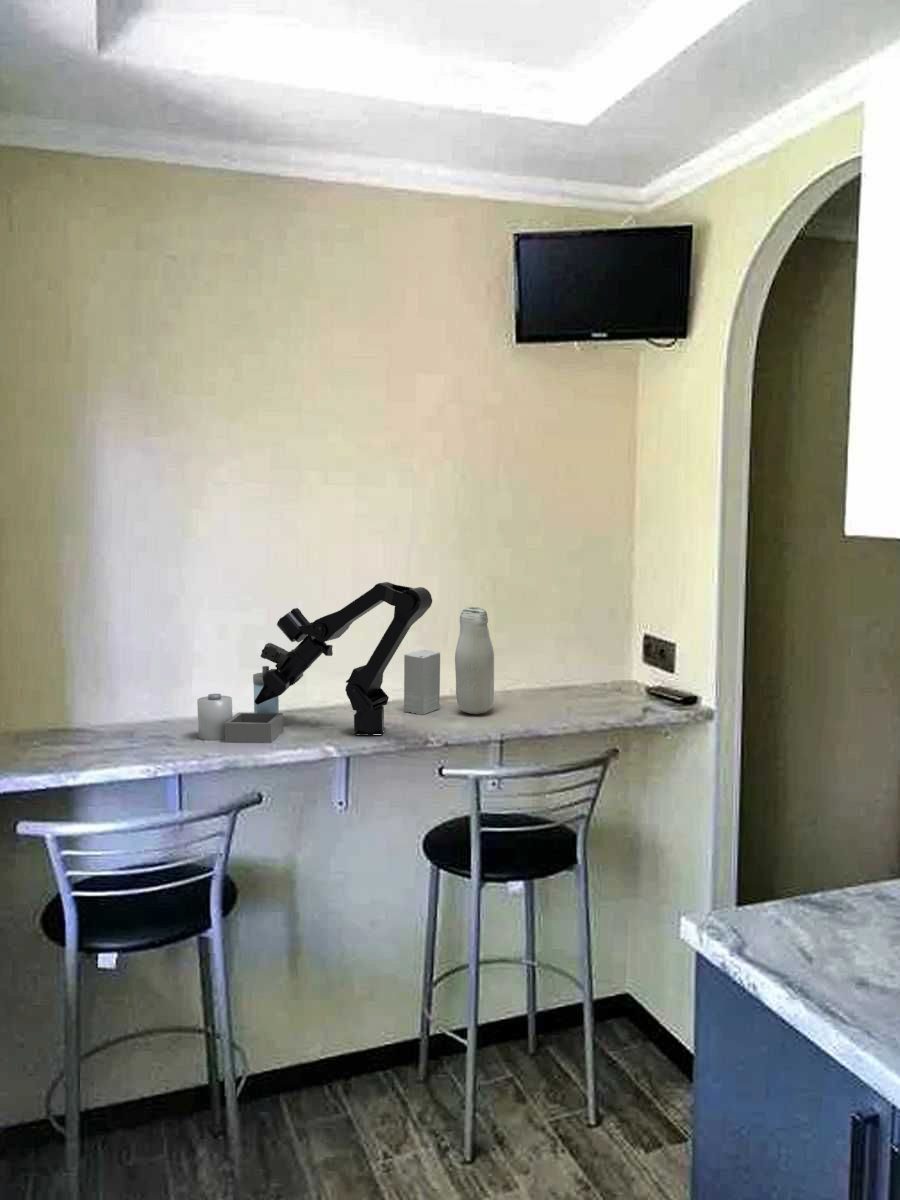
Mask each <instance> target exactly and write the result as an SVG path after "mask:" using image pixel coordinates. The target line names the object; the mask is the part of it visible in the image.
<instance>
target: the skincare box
mask: <svg viewBox="0 0 900 1200" xmlns="http://www.w3.org/2000/svg"><path fill="white" fill-rule="evenodd" d="M403 659H404V660H403V663H404V664H403V666H404V667H403V668H404V672H403V673H404V674H403V675H404V677H403V679H404V680H403V681H404V682H403V686H404V687H403V691H404V692H403V702H404V703H403V712H404V711H405V712H404V713H409V712H411V713H410V714H414V713H416V714H415V715H420V714H424V715H426V714H428V713H432V712H434V711H436V710H440V698H441V696H440V695H441V693H440V692H441V691H440V690H441V687H440V686H441V684H440V683H441V652H439V651H434V650H430V649H429V650H427V649H419V650H416V651H413V652H409V653H406V654H404V657H403Z"/></svg>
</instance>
